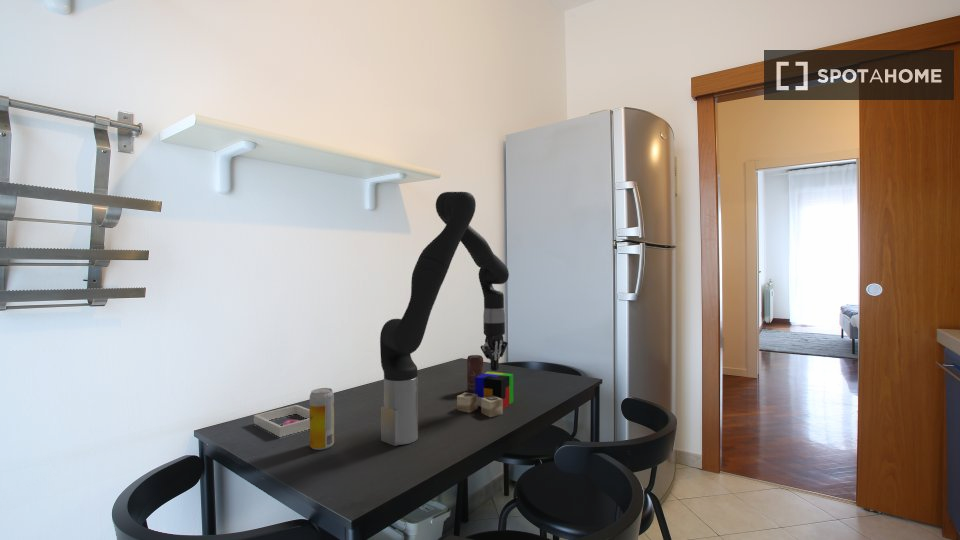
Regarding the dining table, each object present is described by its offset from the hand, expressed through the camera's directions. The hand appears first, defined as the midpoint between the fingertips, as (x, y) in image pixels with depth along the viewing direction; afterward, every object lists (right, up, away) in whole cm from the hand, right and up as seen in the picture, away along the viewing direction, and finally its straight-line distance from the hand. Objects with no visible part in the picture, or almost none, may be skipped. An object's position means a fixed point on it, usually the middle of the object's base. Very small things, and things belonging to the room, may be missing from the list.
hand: (494, 370), depth 155 cm
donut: (-60, -13, -24) cm, 66 cm away
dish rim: (-63, -12, -22) cm, 68 cm away
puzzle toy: (0, -12, 0) cm, 12 cm away
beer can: (-47, -12, -37) cm, 62 cm away
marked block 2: (-1, -12, -11) cm, 16 cm away
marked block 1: (-9, -12, -7) cm, 16 cm away
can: (-7, -12, +15) cm, 20 cm away
